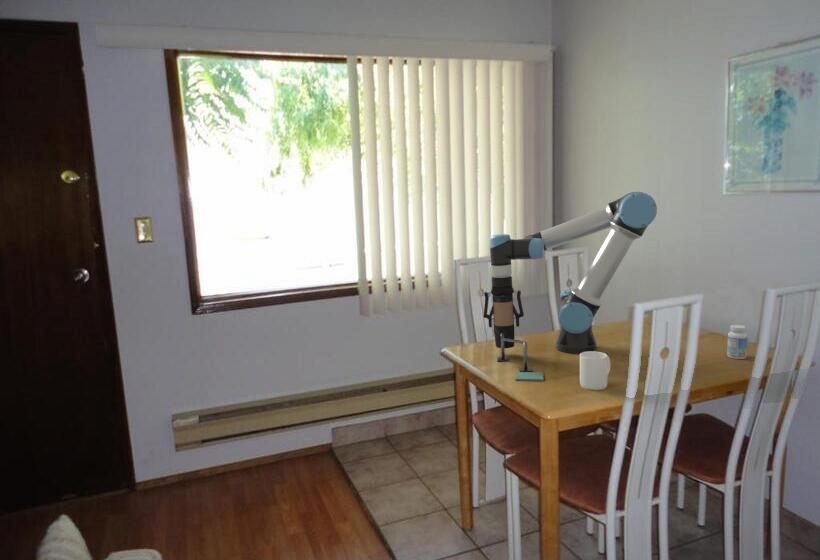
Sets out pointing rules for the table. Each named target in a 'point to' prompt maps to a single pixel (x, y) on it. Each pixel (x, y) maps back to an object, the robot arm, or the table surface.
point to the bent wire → (505, 359)
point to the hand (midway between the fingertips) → (504, 335)
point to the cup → (594, 370)
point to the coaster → (529, 376)
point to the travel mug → (503, 319)
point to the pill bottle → (737, 342)
